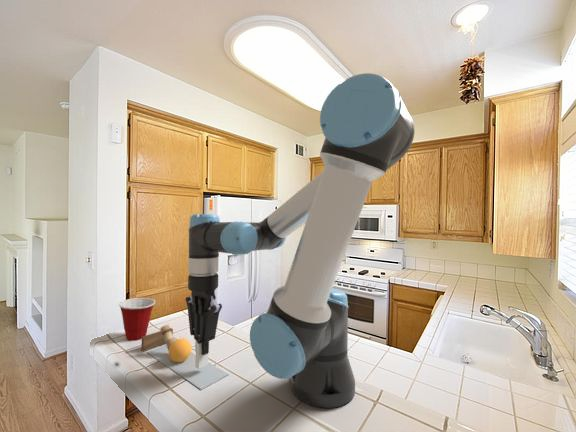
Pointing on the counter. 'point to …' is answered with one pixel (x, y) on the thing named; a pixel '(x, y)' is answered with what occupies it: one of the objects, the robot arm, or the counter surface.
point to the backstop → (153, 340)
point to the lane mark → (190, 368)
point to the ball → (180, 350)
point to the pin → (167, 335)
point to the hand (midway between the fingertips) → (201, 365)
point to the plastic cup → (136, 317)
